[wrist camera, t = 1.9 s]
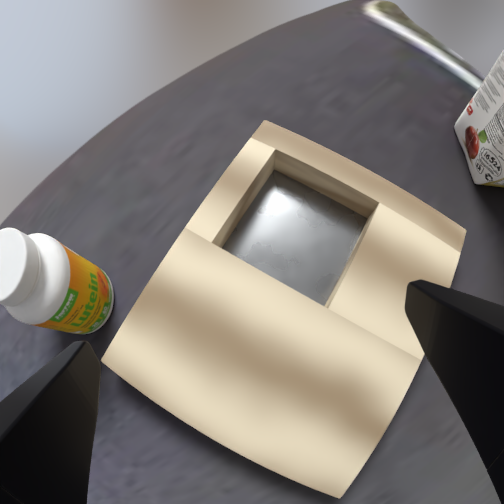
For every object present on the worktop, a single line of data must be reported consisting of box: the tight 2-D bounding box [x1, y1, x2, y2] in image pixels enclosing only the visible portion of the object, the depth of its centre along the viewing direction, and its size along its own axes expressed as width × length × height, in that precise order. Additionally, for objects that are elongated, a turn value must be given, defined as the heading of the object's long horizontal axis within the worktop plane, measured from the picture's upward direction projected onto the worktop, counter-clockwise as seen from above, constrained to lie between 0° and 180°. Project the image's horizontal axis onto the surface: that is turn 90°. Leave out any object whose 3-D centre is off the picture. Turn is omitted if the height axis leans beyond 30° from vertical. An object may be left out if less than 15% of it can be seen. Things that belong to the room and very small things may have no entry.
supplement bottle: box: [0, 228, 114, 334], centre depth 17 cm, size 5×5×10 cm
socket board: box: [101, 120, 466, 499], centre depth 20 cm, size 20×17×3 cm
